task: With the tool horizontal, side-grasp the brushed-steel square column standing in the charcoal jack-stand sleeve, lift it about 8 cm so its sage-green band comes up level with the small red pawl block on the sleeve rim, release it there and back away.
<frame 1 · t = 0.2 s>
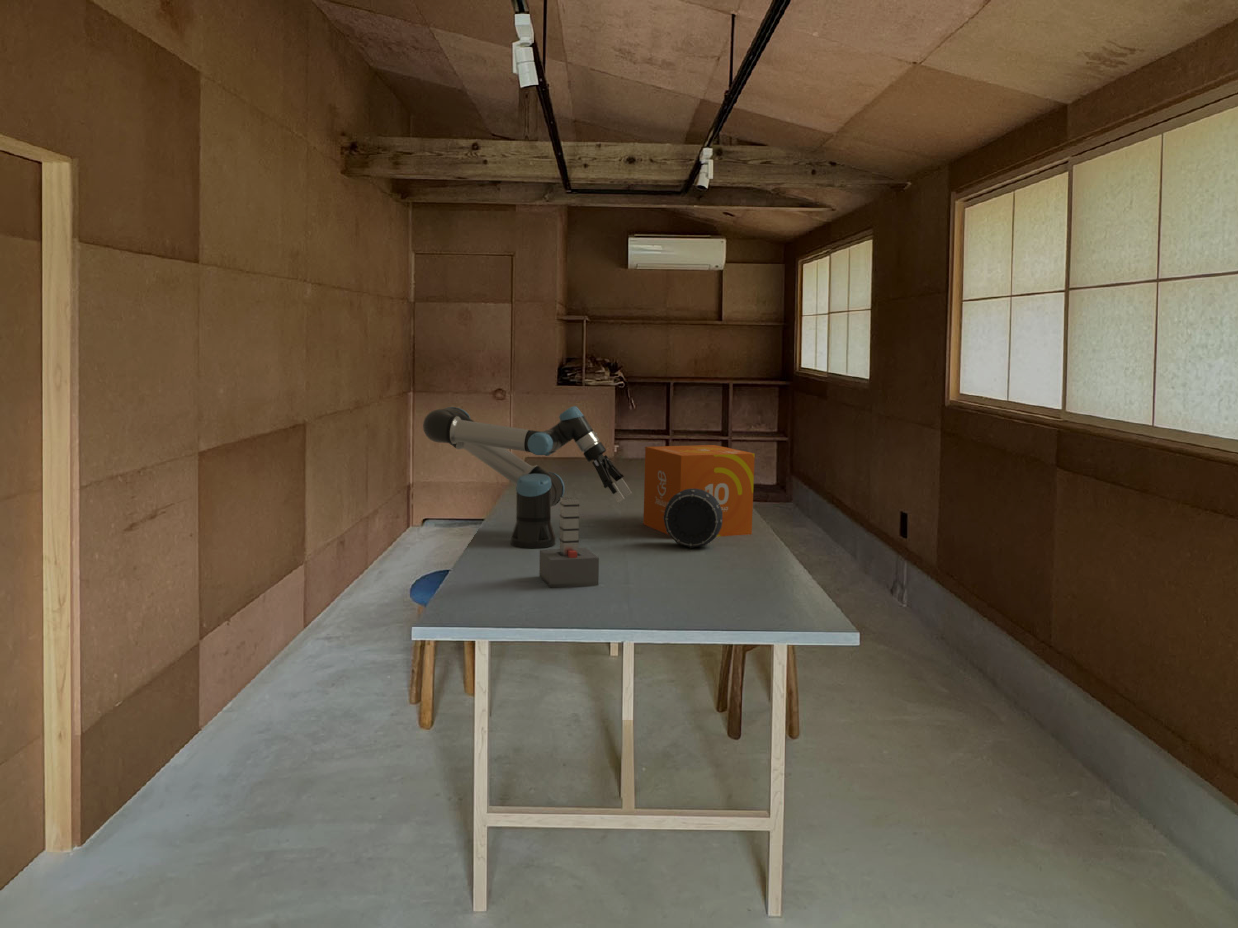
hand: (625, 498, 336), 15 cm above the table, tool tilted 35°, fingers open, 13 cm apart
stand: (568, 580, 282), on the table
column: (569, 537, 280), point 13 cm above the table, slide at 0.0 cm
studded black puck: (692, 547, 333), on the table
box: (696, 529, 365), on the table
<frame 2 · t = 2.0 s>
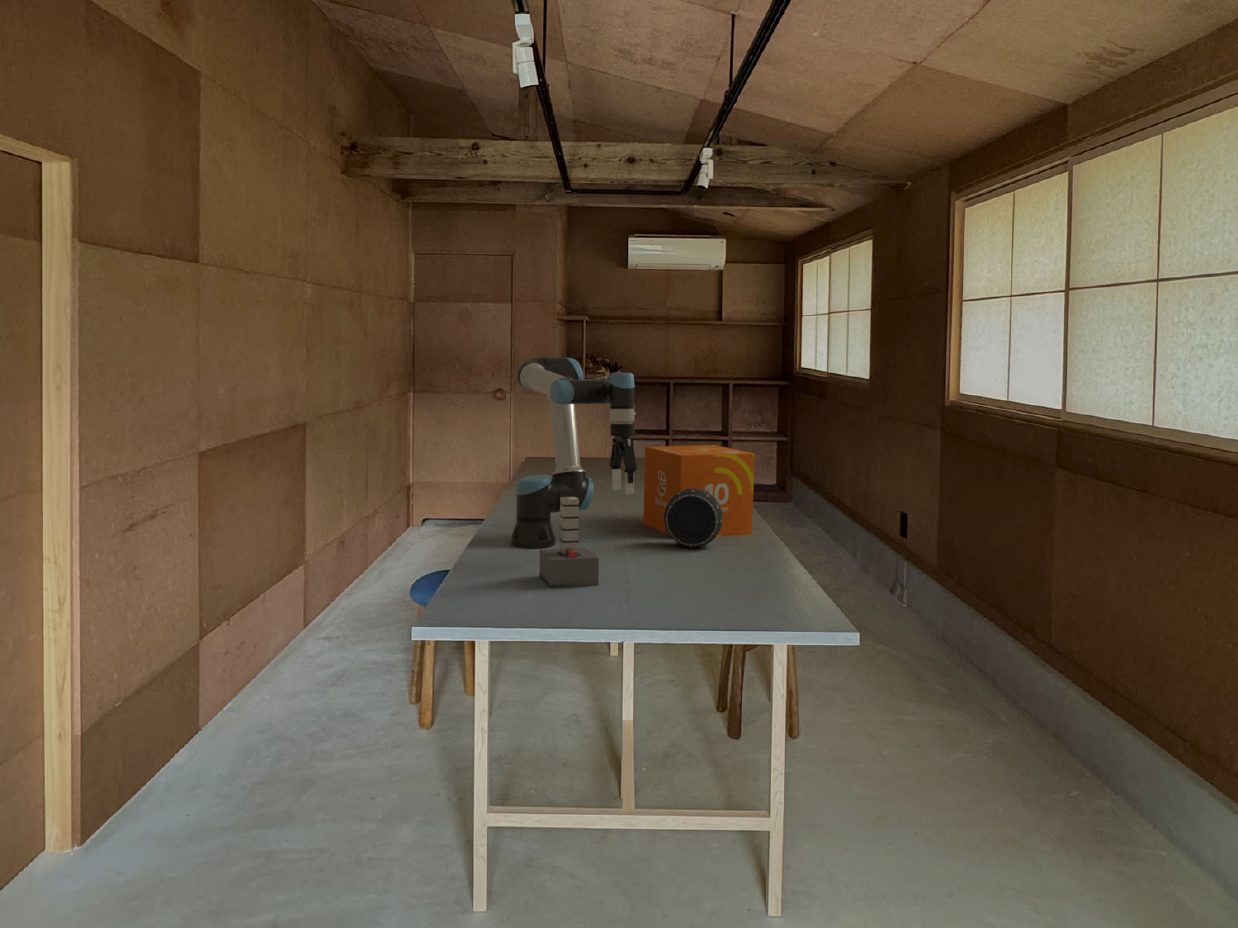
hand: (623, 491, 299), 23 cm above the table, tool pointing down, fingers open, 13 cm apart
nothing on the table moved.
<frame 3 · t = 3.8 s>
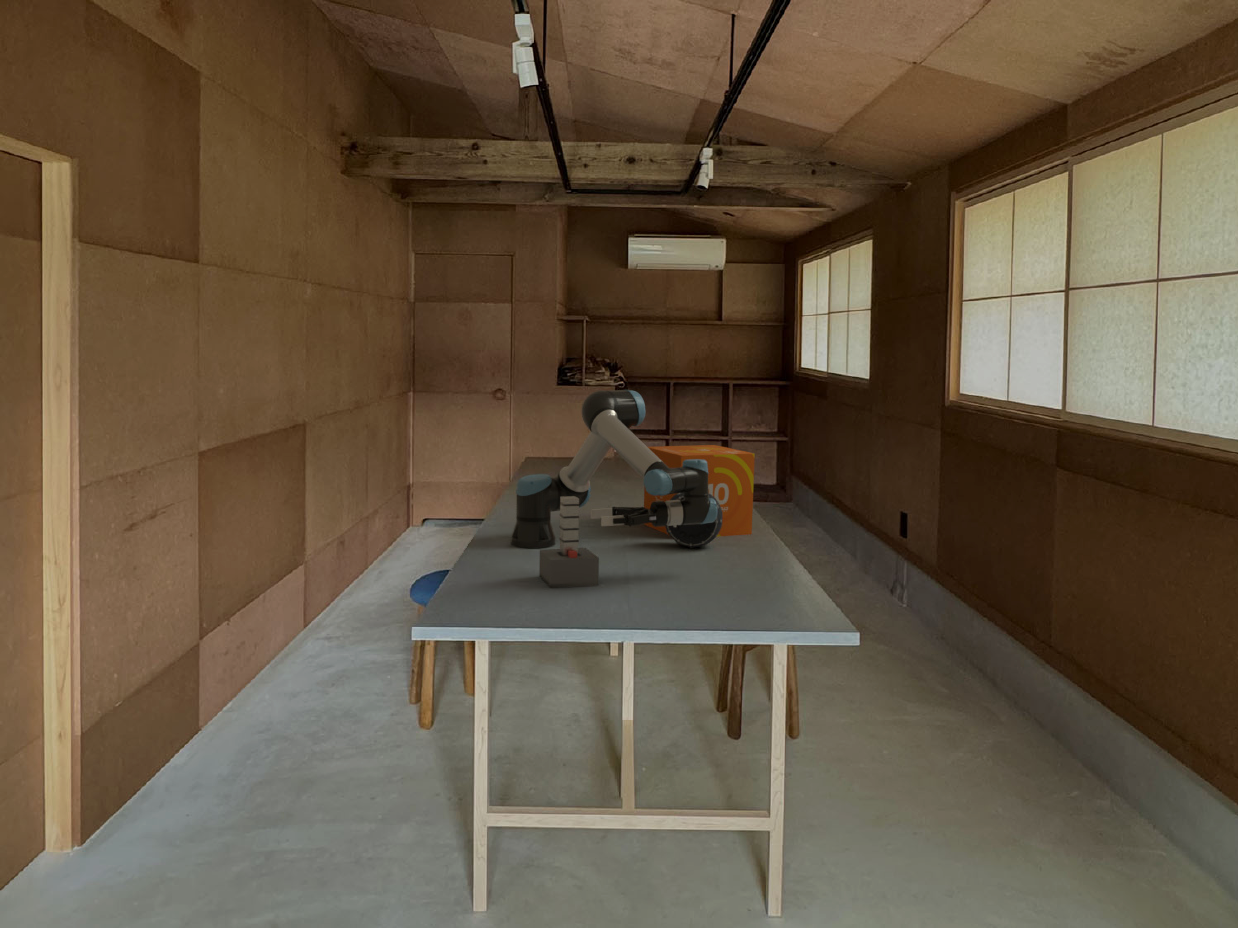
hand: (595, 517, 283), 18 cm above the table, tool horizontal, fingers open, 13 cm apart
nothing on the table moved.
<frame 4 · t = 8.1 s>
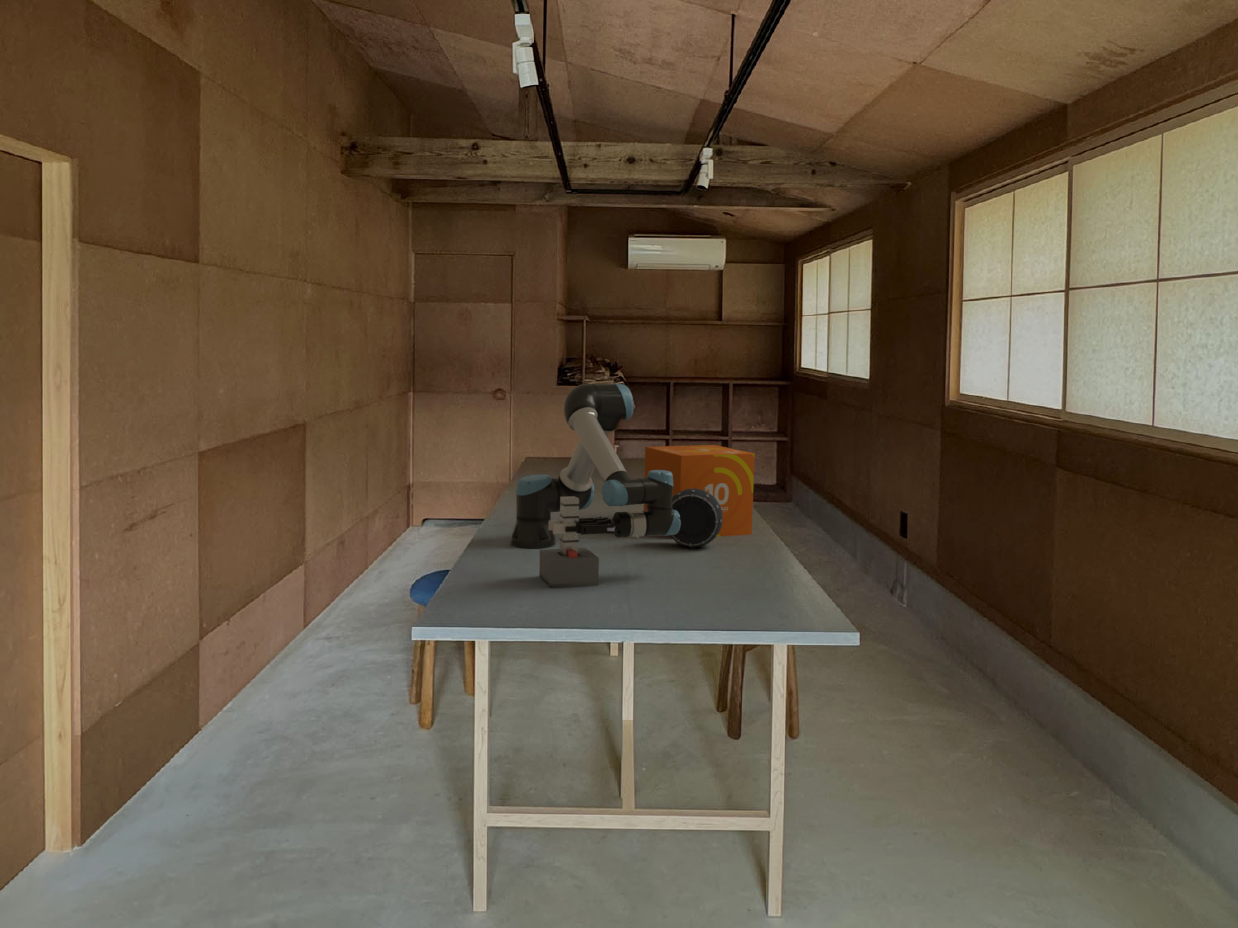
hand: (551, 527, 278), 16 cm above the table, tool horizontal, fingers closed on column, 5 cm apart
column: (569, 537, 280), point 13 cm above the table, slide at 0.1 cm, touching gripper
everything else where it was.
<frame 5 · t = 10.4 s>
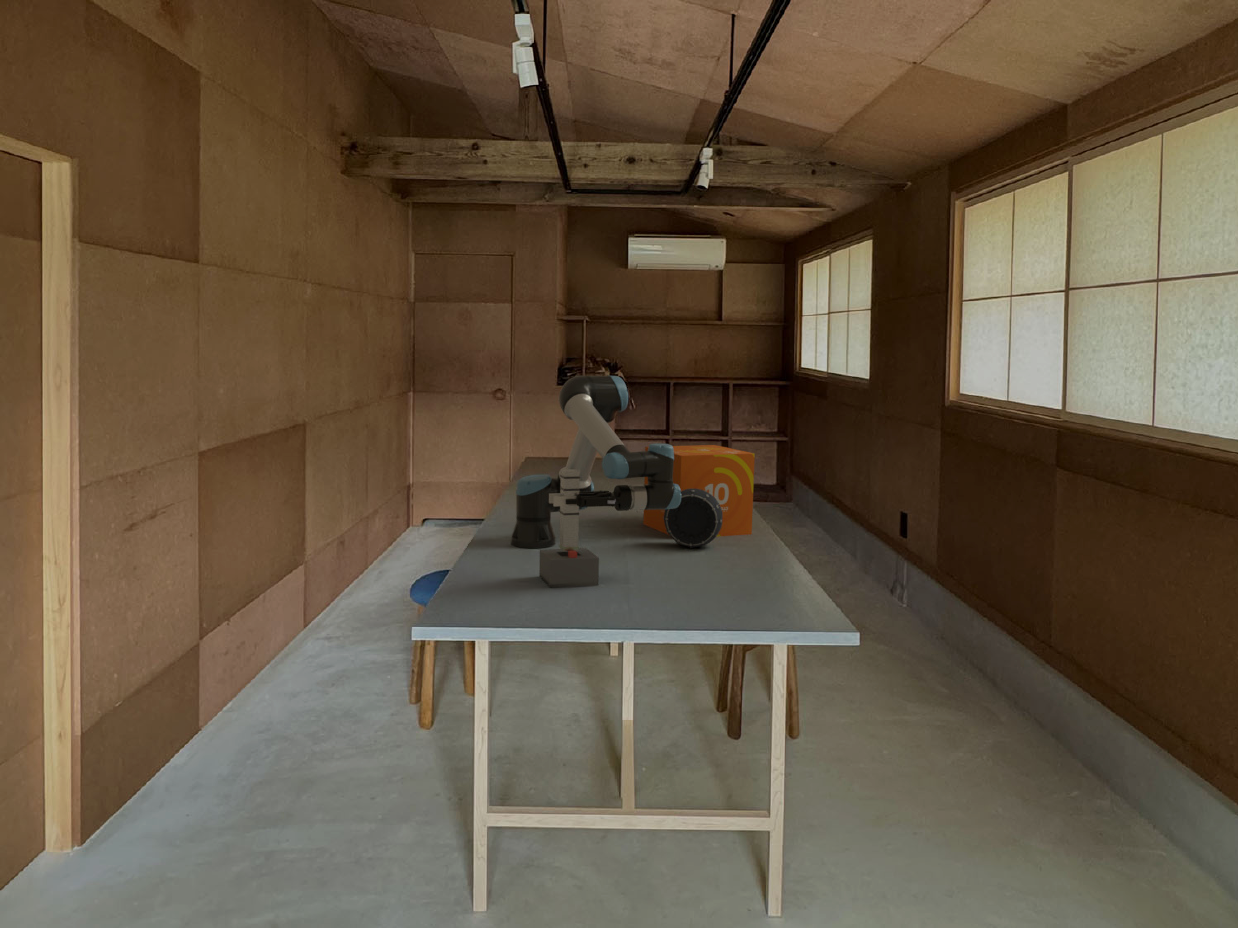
hand: (551, 499, 277), 24 cm above the table, tool horizontal, fingers closed on column, 5 cm apart
column: (569, 509, 279), point 21 cm above the table, slide at 8.1 cm, touching gripper
everything else where it was.
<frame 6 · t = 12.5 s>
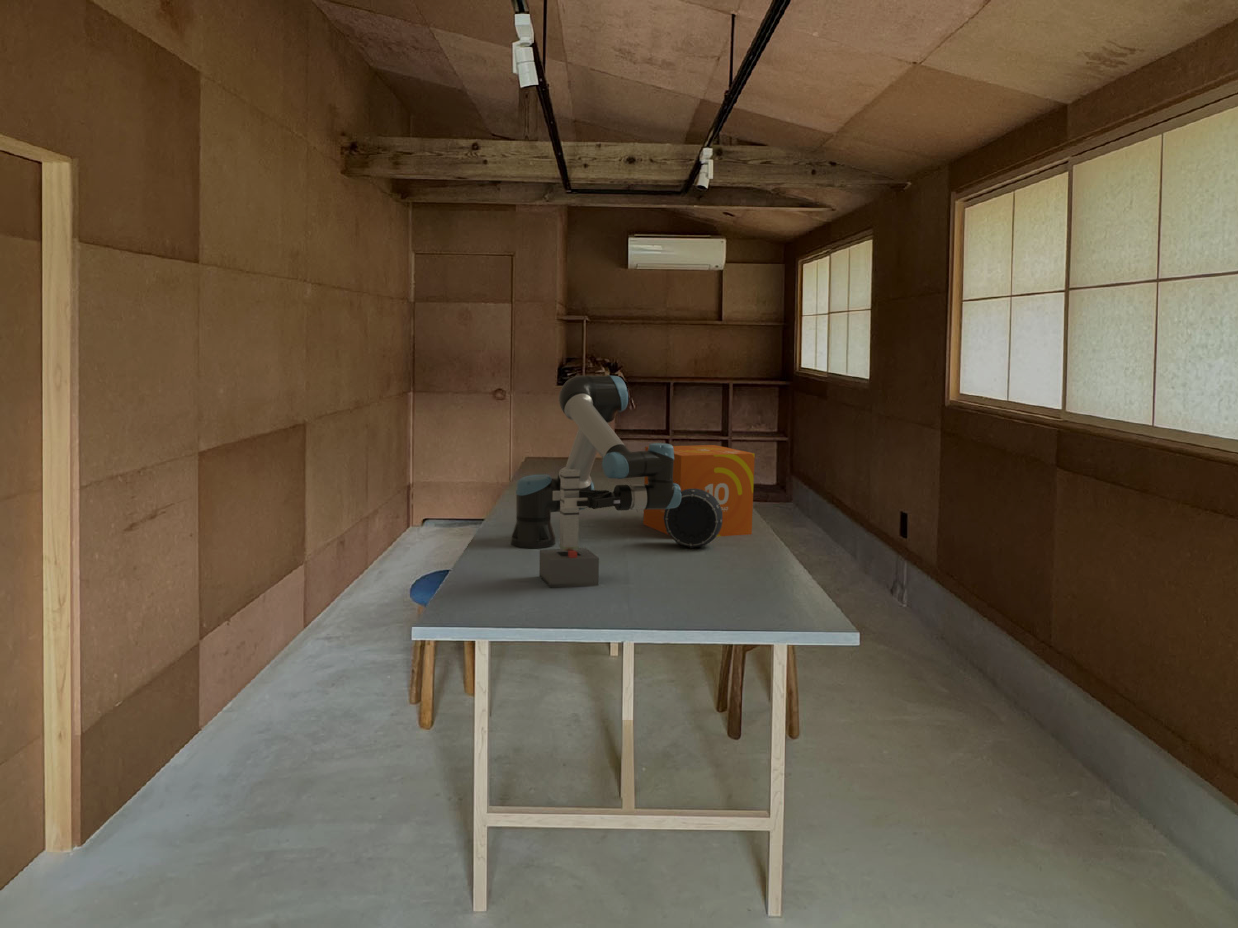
hand: (558, 499, 278), 24 cm above the table, tool horizontal, fingers open, 13 cm apart
column: (569, 509, 279), point 21 cm above the table, slide at 8.1 cm
everything else where it was.
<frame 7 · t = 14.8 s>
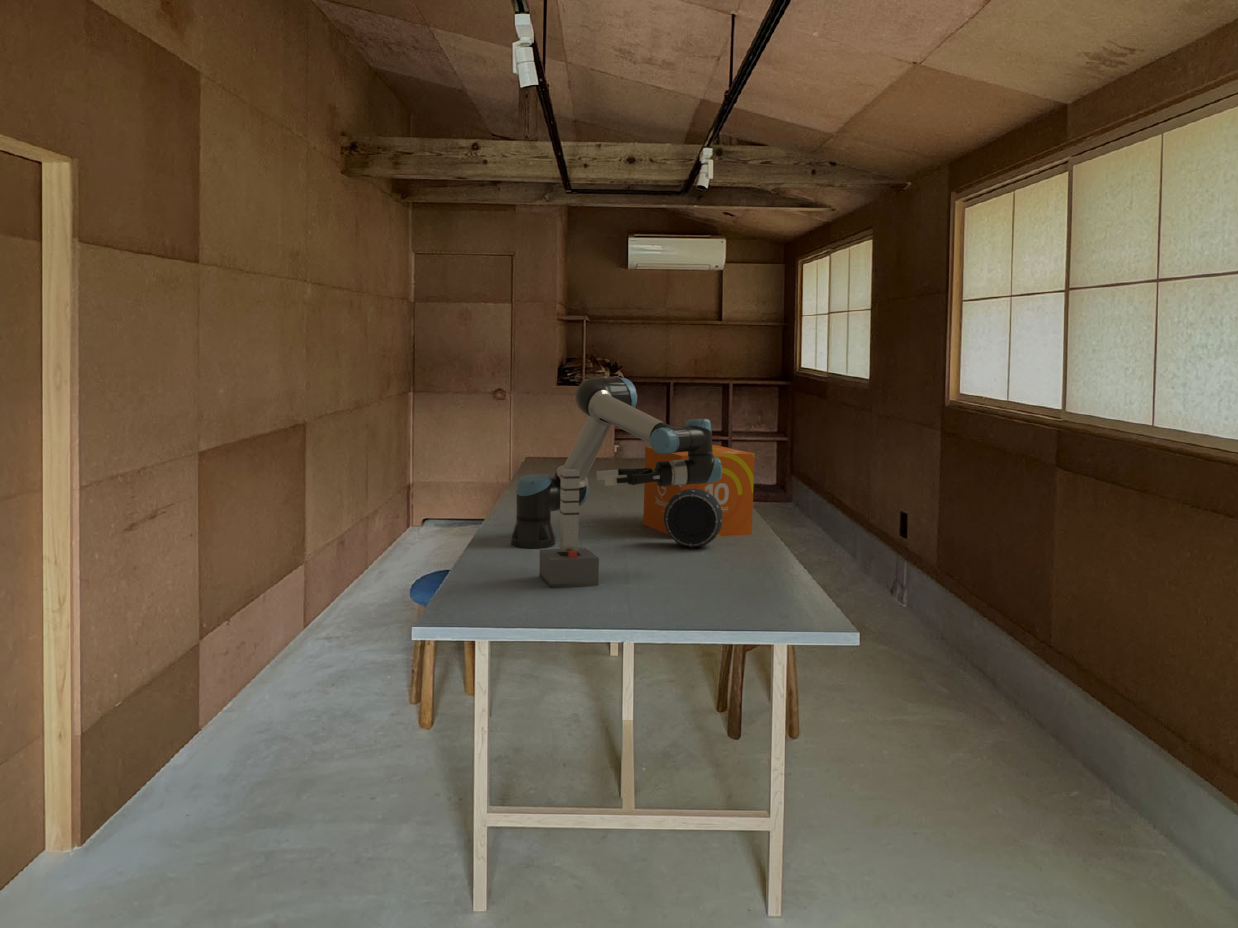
hand: (600, 478, 287), 29 cm above the table, tool horizontal, fingers open, 13 cm apart
nothing on the table moved.
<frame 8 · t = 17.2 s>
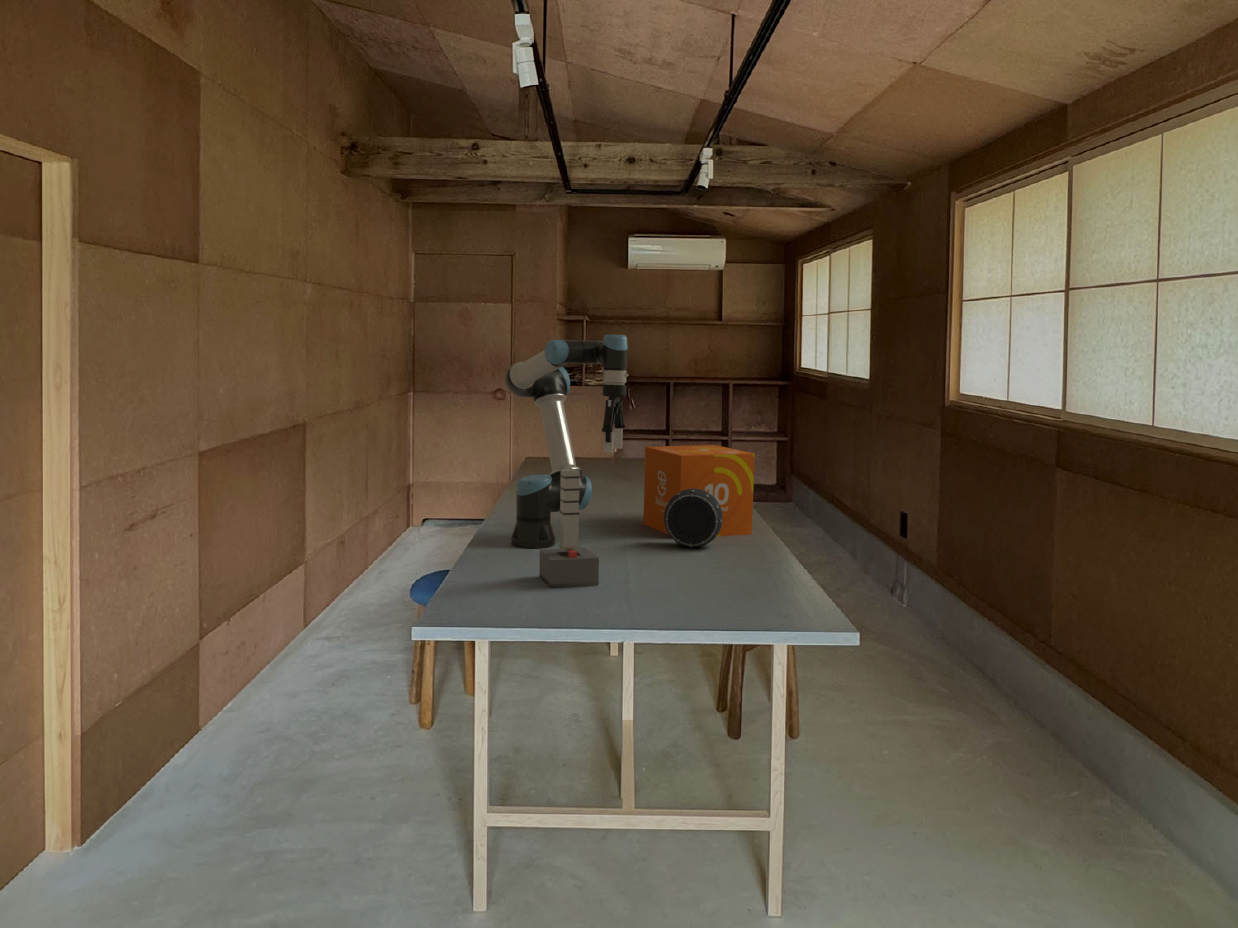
hand: (613, 450, 309), 35 cm above the table, tool pointing down, fingers open, 13 cm apart
nothing on the table moved.
at the end: column slide at 8.1 cm; the gripper is holding nothing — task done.
